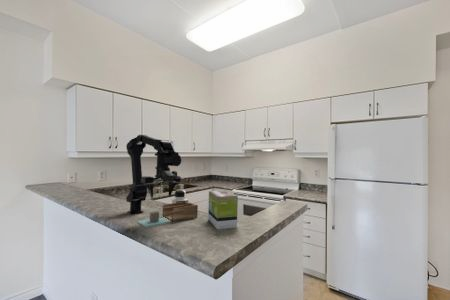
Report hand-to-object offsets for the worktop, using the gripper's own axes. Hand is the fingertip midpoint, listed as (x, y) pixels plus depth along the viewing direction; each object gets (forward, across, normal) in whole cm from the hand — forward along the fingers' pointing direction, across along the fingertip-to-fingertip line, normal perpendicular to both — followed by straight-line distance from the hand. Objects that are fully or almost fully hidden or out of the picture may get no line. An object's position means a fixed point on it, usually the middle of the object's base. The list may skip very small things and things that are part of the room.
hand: (161, 196), depth 101 cm
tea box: (+11, +21, -22) cm, 33 cm away
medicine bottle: (+12, +16, +8) cm, 21 cm away
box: (+11, +10, -2) cm, 15 cm away
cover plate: (+12, -4, -2) cm, 13 cm away
